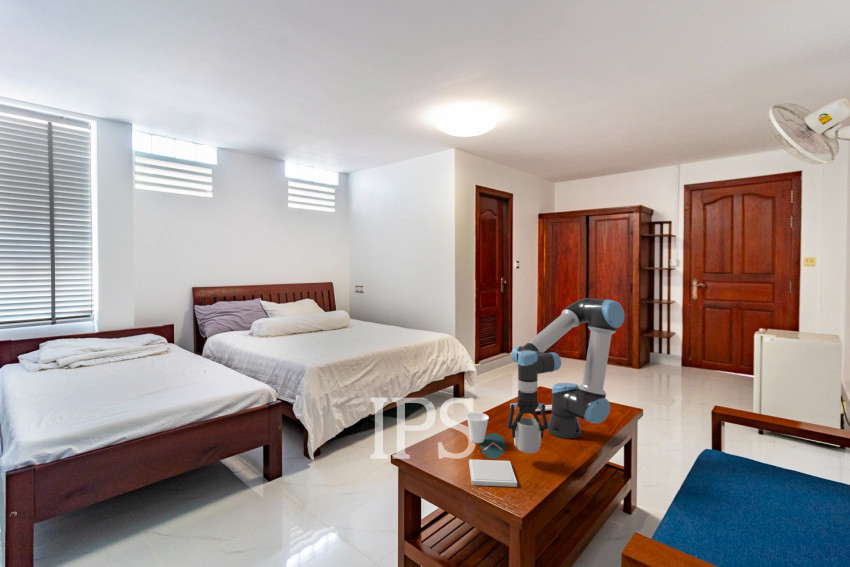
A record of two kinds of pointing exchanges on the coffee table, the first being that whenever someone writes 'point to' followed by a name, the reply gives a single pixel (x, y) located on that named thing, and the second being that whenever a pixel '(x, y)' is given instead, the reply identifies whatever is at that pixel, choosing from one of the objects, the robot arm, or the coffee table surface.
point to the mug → (528, 435)
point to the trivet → (492, 473)
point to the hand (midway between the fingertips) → (527, 445)
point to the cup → (477, 426)
